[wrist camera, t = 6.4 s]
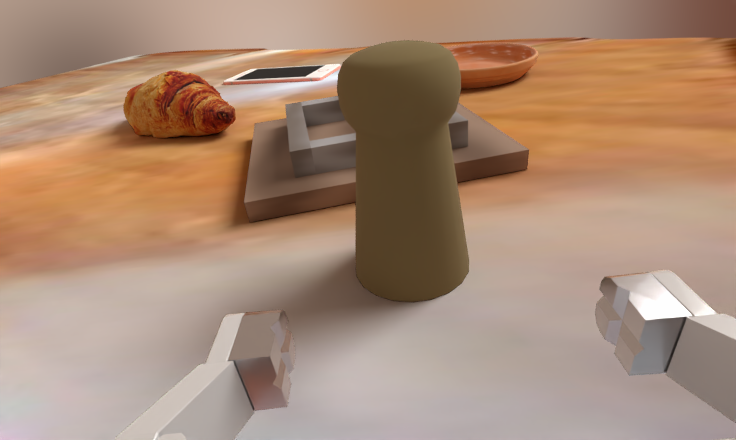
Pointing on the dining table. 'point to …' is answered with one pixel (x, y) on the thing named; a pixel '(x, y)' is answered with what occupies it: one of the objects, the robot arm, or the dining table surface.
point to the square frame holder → (349, 158)
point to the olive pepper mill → (405, 169)
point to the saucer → (492, 63)
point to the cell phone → (283, 74)
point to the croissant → (177, 107)
